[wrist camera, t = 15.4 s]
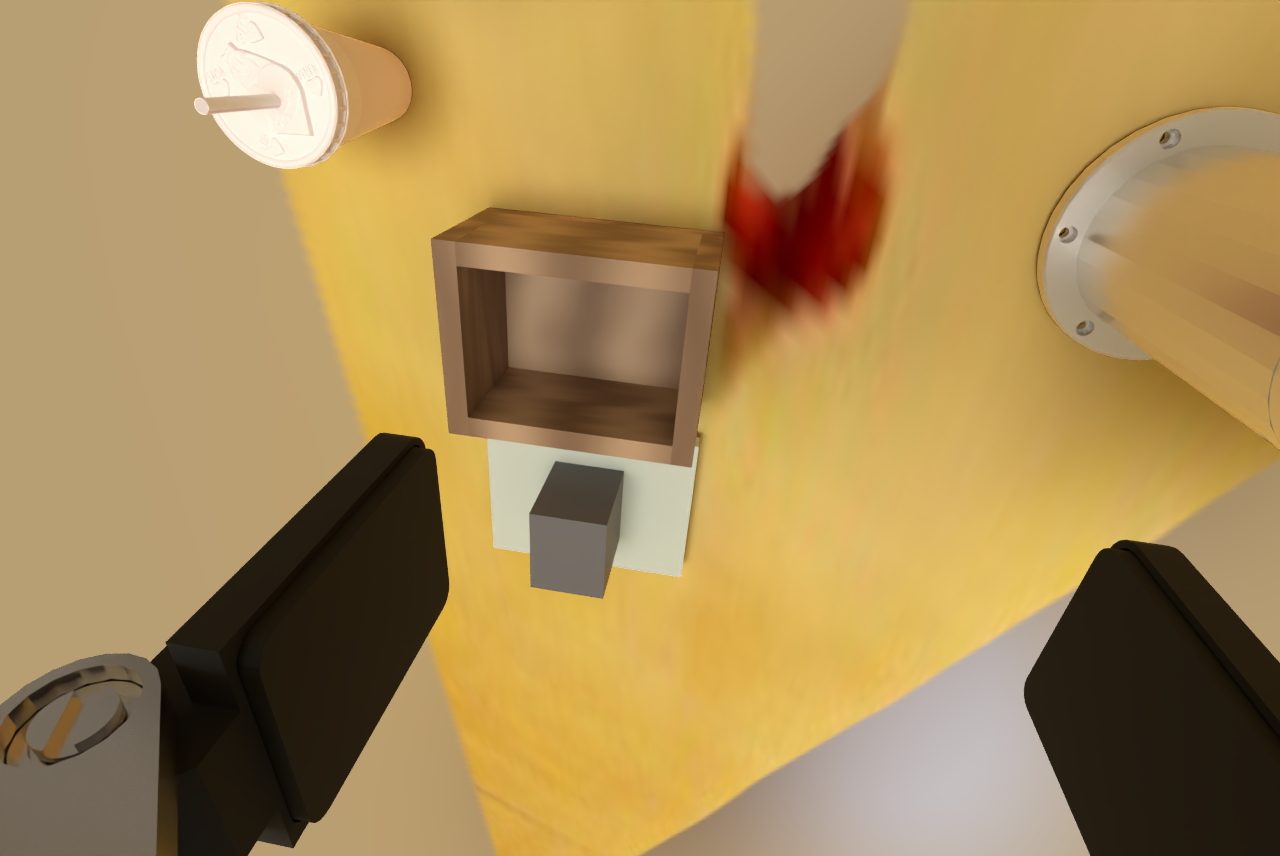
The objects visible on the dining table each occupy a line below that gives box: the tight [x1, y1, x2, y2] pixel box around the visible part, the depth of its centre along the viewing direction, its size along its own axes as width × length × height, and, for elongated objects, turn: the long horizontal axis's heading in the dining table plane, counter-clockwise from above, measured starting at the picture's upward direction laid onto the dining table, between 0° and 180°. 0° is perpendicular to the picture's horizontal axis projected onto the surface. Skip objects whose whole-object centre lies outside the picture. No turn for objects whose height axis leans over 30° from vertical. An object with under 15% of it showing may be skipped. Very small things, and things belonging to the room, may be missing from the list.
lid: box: [487, 437, 700, 599], centre depth 43 cm, size 14×11×8 cm
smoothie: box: [194, 1, 412, 169], centre depth 29 cm, size 6×6×14 cm
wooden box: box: [431, 208, 724, 468], centre depth 36 cm, size 14×11×8 cm
